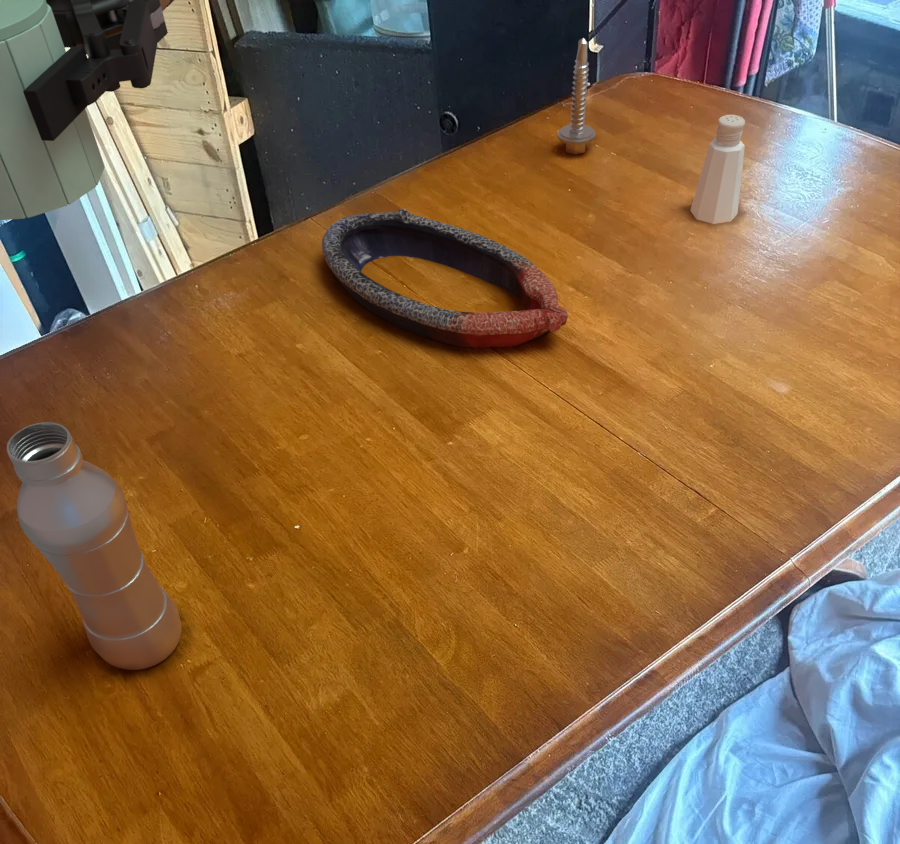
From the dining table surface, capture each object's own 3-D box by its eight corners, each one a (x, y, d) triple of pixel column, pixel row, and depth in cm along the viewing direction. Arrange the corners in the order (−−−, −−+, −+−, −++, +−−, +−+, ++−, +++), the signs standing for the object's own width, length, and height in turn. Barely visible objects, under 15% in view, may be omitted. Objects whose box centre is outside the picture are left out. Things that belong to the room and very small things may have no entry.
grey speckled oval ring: (390, 227, 104) (385, 185, 101) (601, 324, 91) (606, 280, 87) (289, 284, 98) (281, 241, 94) (501, 399, 84) (502, 354, 80)
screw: (570, 138, 117) (601, 147, 115) (549, 152, 115) (581, 162, 113) (577, 26, 107) (611, 35, 105) (554, 40, 105) (589, 48, 103)
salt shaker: (711, 236, 100) (731, 135, 92) (678, 216, 103) (695, 117, 95) (746, 221, 102) (769, 120, 94) (713, 202, 105) (732, 103, 97)
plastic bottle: (149, 695, 64) (38, 495, 49) (81, 659, 66) (-45, 457, 51) (206, 632, 68) (120, 427, 52) (140, 599, 70) (38, 394, 54)
